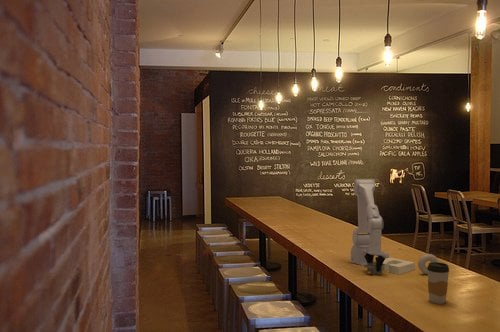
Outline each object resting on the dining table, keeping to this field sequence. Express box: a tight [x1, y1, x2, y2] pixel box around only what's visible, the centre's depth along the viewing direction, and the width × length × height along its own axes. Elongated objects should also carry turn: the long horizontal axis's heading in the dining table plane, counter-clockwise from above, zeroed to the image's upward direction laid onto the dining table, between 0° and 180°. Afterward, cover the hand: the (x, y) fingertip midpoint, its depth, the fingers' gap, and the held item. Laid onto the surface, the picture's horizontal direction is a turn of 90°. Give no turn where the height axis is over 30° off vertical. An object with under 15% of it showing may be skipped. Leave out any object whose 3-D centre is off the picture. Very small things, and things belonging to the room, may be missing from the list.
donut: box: [417, 253, 440, 275], centre depth 247 cm, size 10×4×10 cm, turn 91°
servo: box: [364, 260, 385, 276], centre depth 249 cm, size 4×11×6 cm, turn 131°
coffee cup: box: [427, 261, 450, 305], centre depth 206 cm, size 8×8×15 cm
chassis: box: [382, 257, 416, 275], centre depth 257 cm, size 14×14×4 cm
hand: (374, 270), depth 249 cm, fingers closed on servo, 4 cm apart
